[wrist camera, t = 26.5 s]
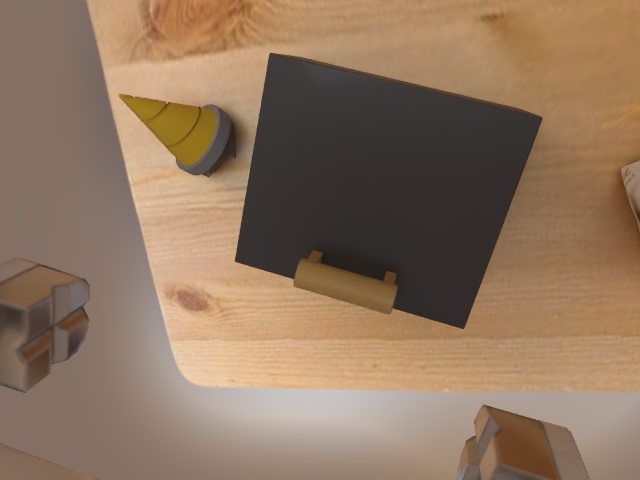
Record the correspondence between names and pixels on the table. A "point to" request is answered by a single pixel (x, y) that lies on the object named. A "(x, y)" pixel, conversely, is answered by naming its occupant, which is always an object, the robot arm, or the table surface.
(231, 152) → the drill bit
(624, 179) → the juice carton
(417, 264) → the lid
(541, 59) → the table surface
